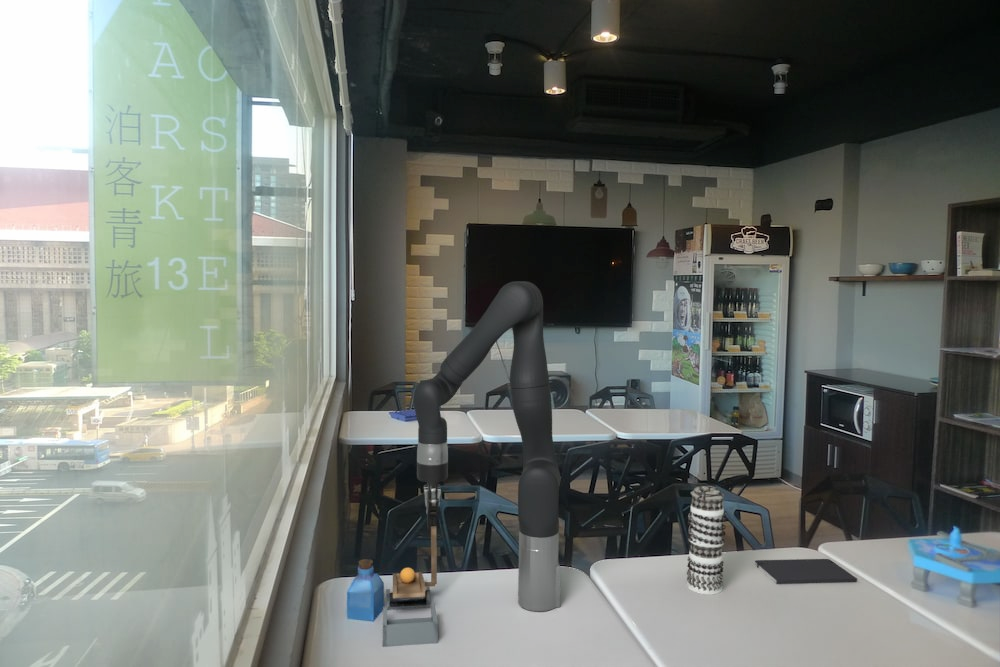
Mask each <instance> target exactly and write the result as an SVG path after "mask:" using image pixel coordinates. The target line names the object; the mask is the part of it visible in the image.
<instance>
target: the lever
mask: <svg viewBox="0 0 1000 667" xmlns="http://www.w3.org/2000/svg"><path fill="white" fill-rule="evenodd" d="M437 551H438V550H437V529H436V526H431V530H430V561H431V562H430V571H431V572H430V575H431V576H430V577H431V578H430V580H431V581H425V579H424V575H423V573H422V572H421V571H419V572H418V571H417V572H415V578H414V580H413V581H412V582H411V583H404V582H402V580H401V579H400V573H401V572H400V573H398V572H397V573H392V592H393V598H408V597H425V591H426V587H436V585H438V580H437V579H438V577H437V576H438V571H437V570H438V569H437V568H438V567H437V560H438V558H437V556H438V555H437Z"/></svg>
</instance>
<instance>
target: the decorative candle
mask: <svg viewBox="0 0 1000 667" xmlns="http://www.w3.org/2000/svg"><path fill="white" fill-rule="evenodd" d="M690 495H691V504H690V511H689V513H688V514H687V519H688V520H687V525H688V526H689V527H688V529H687V533H688V536H687V539H688V542H690V543H689V545H690V546H689V547H690V548H689V551H688V552H689V553H688V557H687V565H686V566H687V568H688V569H687V570H686V574H687V577H686V581H687V584H686V587H687V588H688V589H689V591H692V592H694V593H697V594H701V595H707V596H709V595H710V596H711V595H712V596H714V595H719V594H721V593H722V592H723V585H724V584H723V583H724V581H723V580H724V575H723V572H724V561H723V553H722V552H723V550H722V549H723V546H724V545H725V539H723V537H724V536H726V532H725V530H726V525H725V524H724V523H725V522H726V521H727V517H726V515H727V513H728V512H727V511H725V507H724V498H725V497H726V495H725V494H724V493H722V491H721V489H720V488H718V487H715V486H712V485H698V486H696V487H695V488H694V489H693V490H692V491H690Z"/></svg>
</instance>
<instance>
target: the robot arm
mask: <svg viewBox="0 0 1000 667" xmlns="http://www.w3.org/2000/svg"><path fill="white" fill-rule="evenodd" d="M543 299H544V298H543V295H542V293H541V290H540V289H539V288H538V287H537V285H535V284H534V283H532V282H530V281H524V280H522V281H517V280H516V281H511V282H509V283H506V284H504V285H503V286H502V287H501V288H500V289H499V290H498V293H497V294H496V296H495V297H494V298H493V300H492V301H491V302H490V304H489V306H488V308H487V309H486V311H485V312H484V313H483V315H482V316H481V318H480V319H479V320H478V321H477V323H476V324H475V325H474V327H473V328H472V329H471V330H470V331H469V333H468V334H466V336H465V337H464V338H463V339H462V340H461V341H460V342H459V343H458V344H457V346H456V347H454V348H453V350H452V351H451V352H450V353H449V354H448V355H447V356H446V357H445V358H444V360H443V361H442V362H441V363H440V370H439V371H438V372H437V373H436V374H435V376H433V377H432V378H428V379H425V380H421V381H420V382H419V383H417V384H416V386H415V387H414V391H413V401H412V402H413V408H414V412H415V418H416V421H417V424H418V428H417V430H418V431H417V434H418V435H417V449H416V478H417V480H418V481H419V482H423V483H426V484H425V485H423V492H424V493H423V494H424V503H425V504H424V505H425V507H426V509H425V512H426V516H427V517H426V518H427V521H426V522H427V523H426V525H427V526H426V529H427V530H428V531H431V526H436V530H437V528H438V527H437V526H438V525H437V524H438V523H437V518H438V517H437V516H438V515H439V507H440V503H441V502H440V501H441V500H440V498H441V494H442V491H441V490H442V489H441V484H439V482H445V481H446V480H447V479H448V477H449V473H448V472H449V470H448V469H449V448H448V447H449V446H448V422H447V420H446V419H445V418H444V417H442V416H441V407H442V406H444V405H445V404H447V403H448V402H449V401H451V400H452V398H454V397H455V395H456V393H457V392H458V391H459V389H460V388H461V386H462V384H463V383H464V382H465V381H467V379H468V378H469V377H470V376H471V375H472V374H473V373H474V372H475V370H476V369H478V367H479V366H480V365H481V364H482V362H484V360H485V359H486V357H487V355H488V354H489V353H490V351H491V350H492V347H493V346H494V345H495V344H496V342H497V341H498V340H499V339H500V338H501V337H502V336H503V335H504V334H506V332H508V330H510V329H511V328H512V329H511V330H512V335H513V336H512V337H513V351H512V358H511V363H510V371H509V388H510V389H509V391H510V399H511V405H512V411H513V414H514V418H515V421H516V425H517V428H518V431H519V434H520V437H521V444H522V458H523V460H522V461H523V462H522V472H521V475H520V476H519V480H518V486H517V488H518V489H517V520H518V525H519V526H518V528H519V529H518V532H519V534H518V578H517V580H518V583H517V584H518V585H517V588H518V589H517V603H518V604H519V606H520V607H521V608H523V609H524V610H527V611H531V612H532V611H533V612H546V611H551V610H553V609H555V608H560V607H561V566H560V563H559V547H560V546H559V543H560V542H559V541H560V540H559V538H560V537H559V536H560V534H559V533H560V532H559V531H560V521H559V497H560V496H559V493H560V492H559V491H560V487H561V486H560V485H561V473H560V468H559V465H558V460H557V456H556V451H555V446H554V445H555V444H554V439H553V438H554V437H553V408H552V405H553V404H552V394H551V393H552V392H551V385H550V384H551V383H550V377H549V376H550V375H549V370H548V360H547V355H546V353H547V352H546V348H545V338H544V300H543Z"/></svg>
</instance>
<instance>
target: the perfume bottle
mask: <svg viewBox="0 0 1000 667" xmlns="http://www.w3.org/2000/svg"><path fill="white" fill-rule="evenodd" d="M373 562H374V561H373V560H372V559H370V558H365V559H364V558H363V559H361V560H358V567H357V574H356V576H355V577H354V578H353V579H352V581H351V583H350V585H349V586H348V588H347V591H346V619H347V620H354V621H355V620H356V621H363V622H373V623H374V622H375V621H376V620H377V619H378V617H379V615H380V614H381V613H383V611H382V610H383V607H385V603H384V602H385V593H384V592H385V583H384V581H383V579H382V578H381V577H380V575H379V574H378V573H375V572H374V570H375V569H374V565H373Z"/></svg>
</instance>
